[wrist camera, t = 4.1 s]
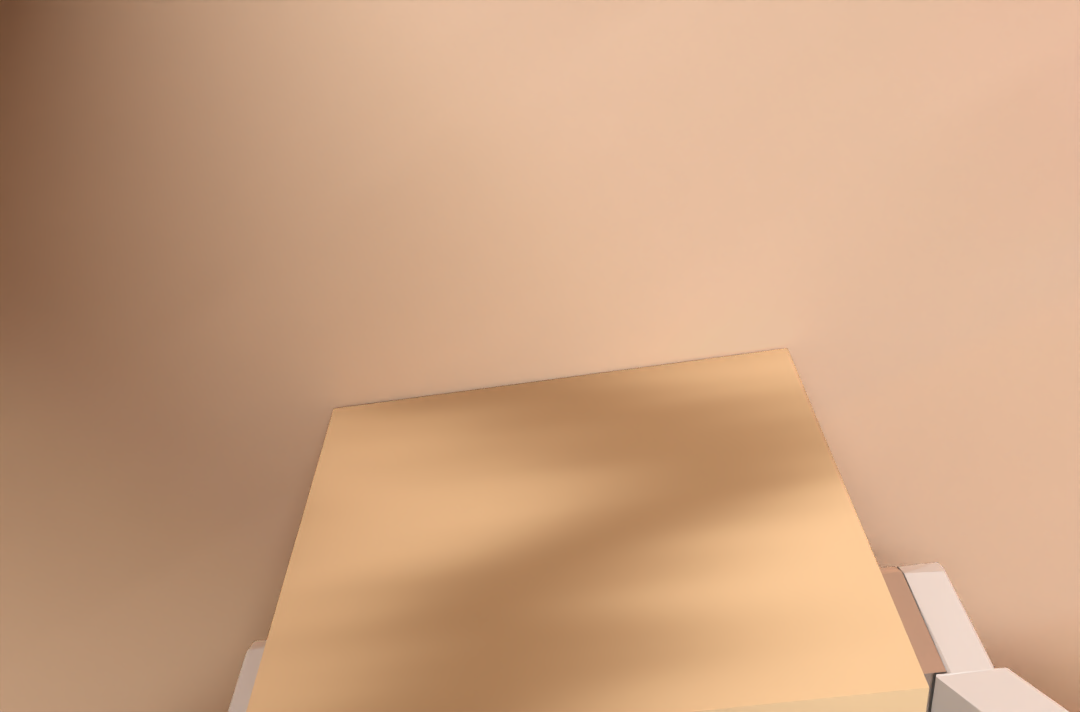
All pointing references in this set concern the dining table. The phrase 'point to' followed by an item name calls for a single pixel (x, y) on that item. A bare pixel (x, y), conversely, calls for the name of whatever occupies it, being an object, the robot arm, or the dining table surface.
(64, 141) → the dining table surface
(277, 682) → the oak block
